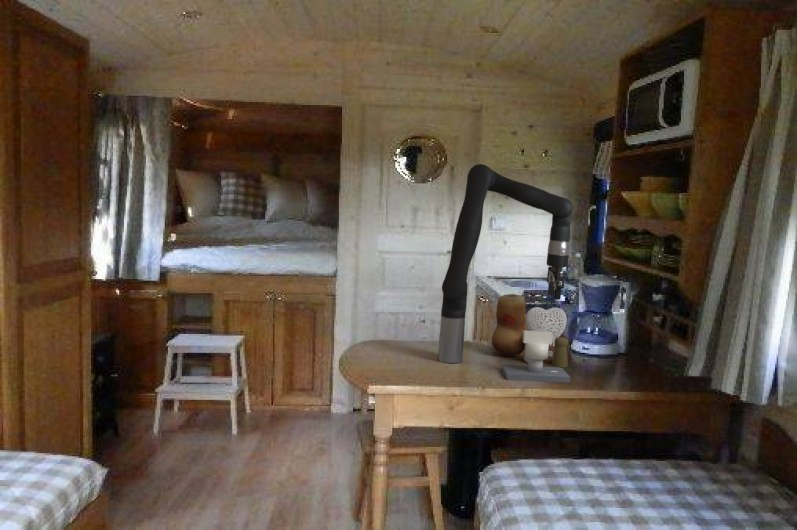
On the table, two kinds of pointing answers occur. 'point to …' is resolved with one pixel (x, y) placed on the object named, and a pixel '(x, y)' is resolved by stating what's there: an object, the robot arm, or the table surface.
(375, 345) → the table surface
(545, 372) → the baseplate
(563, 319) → the decorative heart
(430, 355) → the table surface
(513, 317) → the butternut squash
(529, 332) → the coupling
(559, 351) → the cork
